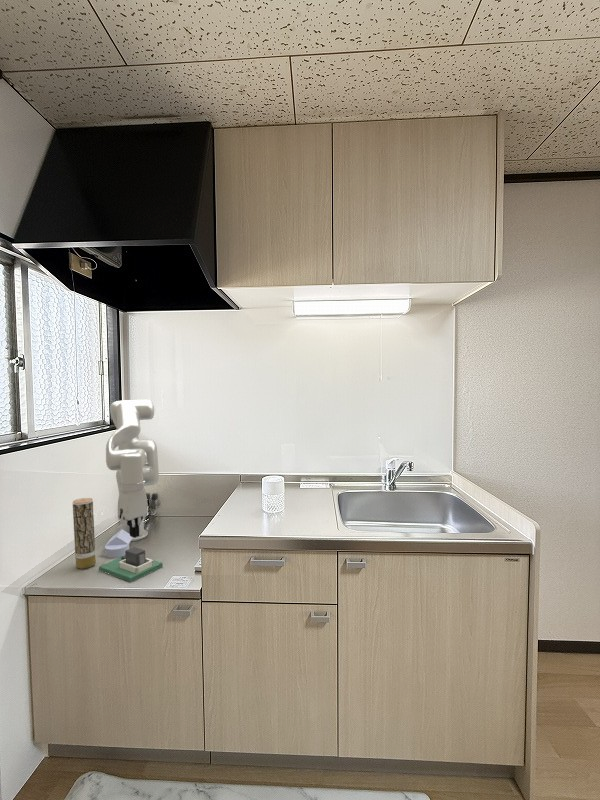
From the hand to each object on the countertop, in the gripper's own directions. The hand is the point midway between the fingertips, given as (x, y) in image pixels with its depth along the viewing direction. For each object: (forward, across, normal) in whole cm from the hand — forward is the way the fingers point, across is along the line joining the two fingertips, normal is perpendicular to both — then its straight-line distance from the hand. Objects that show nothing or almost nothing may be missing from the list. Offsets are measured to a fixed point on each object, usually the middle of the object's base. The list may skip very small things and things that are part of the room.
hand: (134, 536), depth 165 cm
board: (+13, 0, -3) cm, 13 cm away
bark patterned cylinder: (+13, +7, -20) cm, 25 cm away
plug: (+11, 0, 0) cm, 11 cm away
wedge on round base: (+13, -8, -21) cm, 26 cm away
